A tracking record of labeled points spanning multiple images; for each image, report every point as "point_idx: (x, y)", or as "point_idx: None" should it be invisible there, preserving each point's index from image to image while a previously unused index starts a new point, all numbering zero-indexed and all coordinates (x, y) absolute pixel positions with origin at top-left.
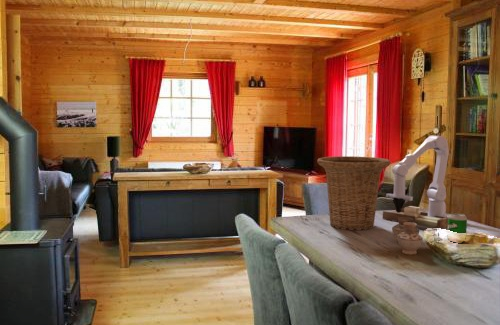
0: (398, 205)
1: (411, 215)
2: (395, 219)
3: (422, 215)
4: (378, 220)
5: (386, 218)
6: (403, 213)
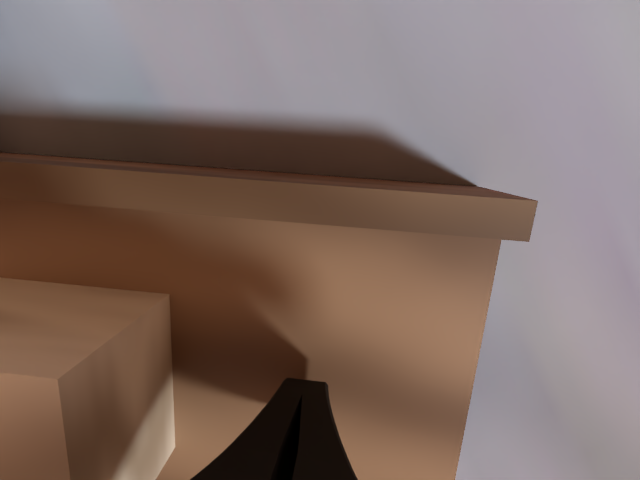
0: (244, 468)
1: (19, 292)
2: (258, 172)
3: None
4: (482, 21)
5: (414, 183)
6: None
